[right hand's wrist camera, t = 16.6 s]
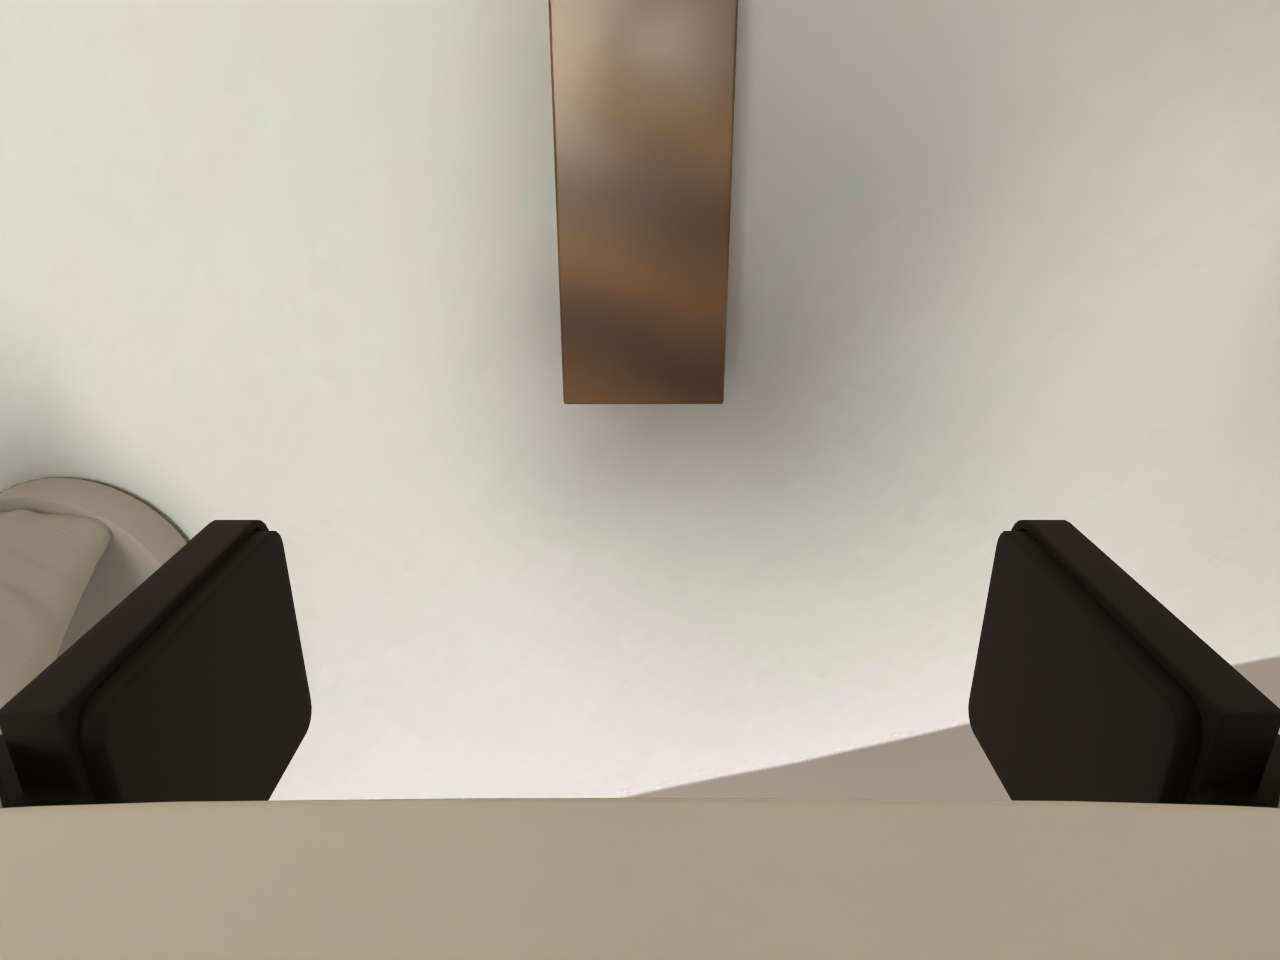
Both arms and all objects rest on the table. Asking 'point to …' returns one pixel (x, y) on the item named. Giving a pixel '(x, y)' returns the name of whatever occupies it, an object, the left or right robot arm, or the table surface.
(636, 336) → the beam
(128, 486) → the table surface
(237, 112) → the table surface
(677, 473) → the table surface
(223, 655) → the right robot arm
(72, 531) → the bust sculpture
